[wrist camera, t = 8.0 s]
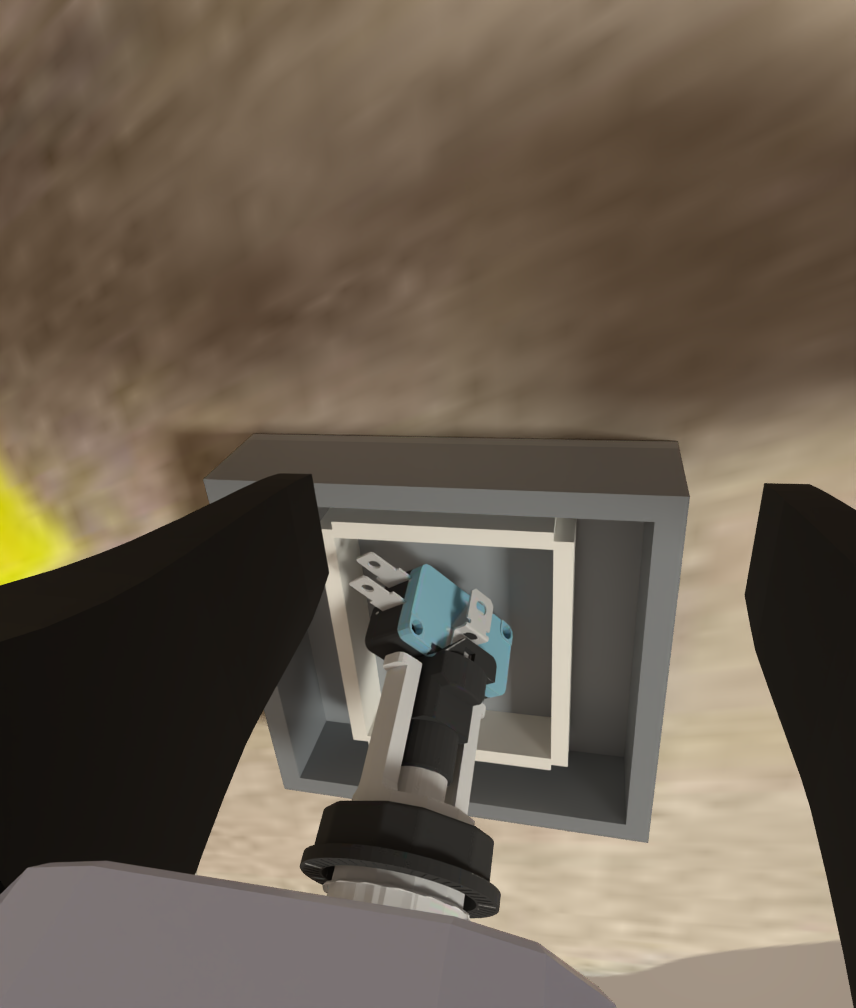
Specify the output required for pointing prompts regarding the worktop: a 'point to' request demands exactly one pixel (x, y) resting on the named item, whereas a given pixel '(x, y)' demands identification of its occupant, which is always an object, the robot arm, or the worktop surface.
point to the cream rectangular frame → (342, 527)
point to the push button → (419, 752)
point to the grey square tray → (505, 607)
